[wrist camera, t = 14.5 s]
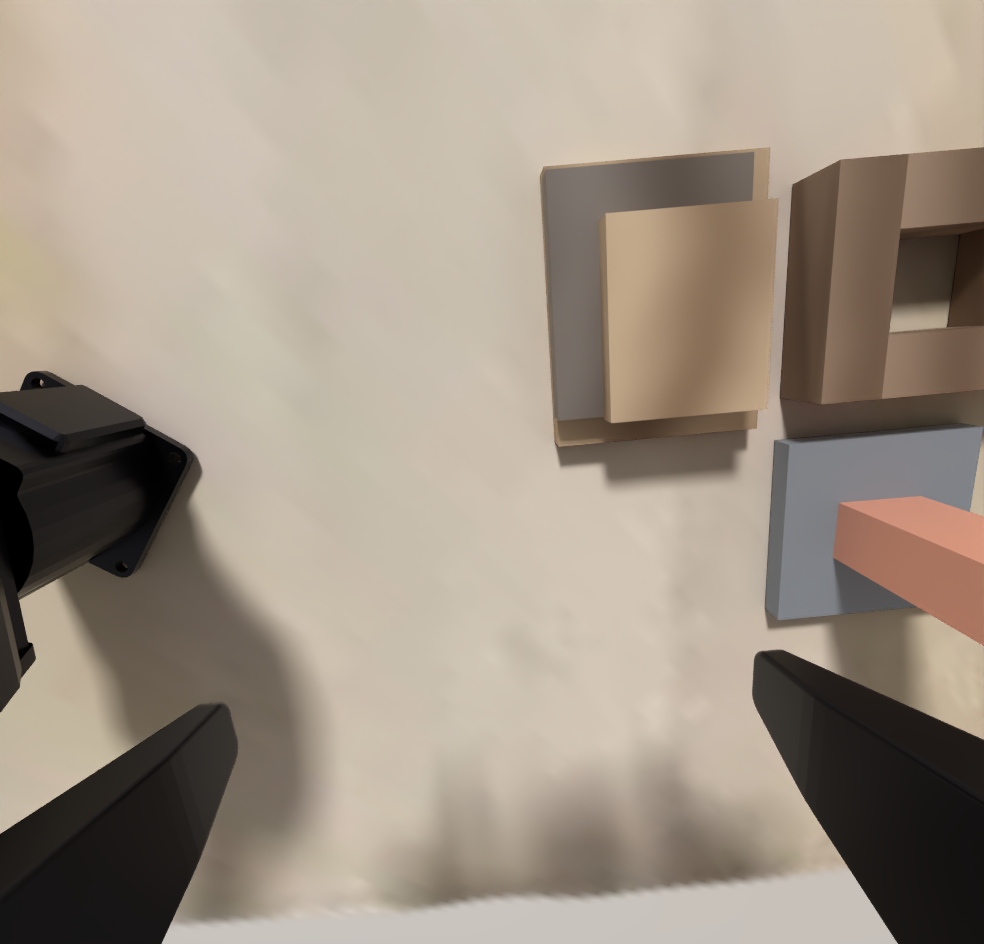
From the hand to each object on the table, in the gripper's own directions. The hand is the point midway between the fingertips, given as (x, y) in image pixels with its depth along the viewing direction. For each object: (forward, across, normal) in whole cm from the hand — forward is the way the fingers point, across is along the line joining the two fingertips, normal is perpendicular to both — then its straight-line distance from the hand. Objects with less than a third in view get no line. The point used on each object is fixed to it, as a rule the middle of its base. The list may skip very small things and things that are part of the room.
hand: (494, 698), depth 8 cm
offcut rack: (+13, -12, -7) cm, 19 cm away
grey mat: (+13, -16, +3) cm, 21 cm away
